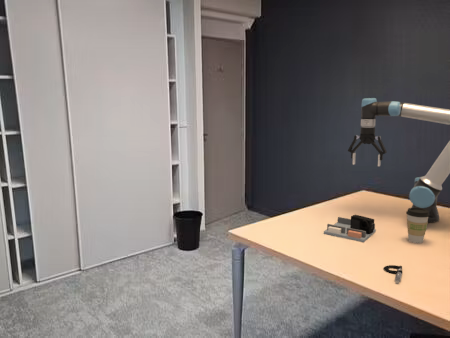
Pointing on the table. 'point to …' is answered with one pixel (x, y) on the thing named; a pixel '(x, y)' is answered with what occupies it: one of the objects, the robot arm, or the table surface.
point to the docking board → (347, 230)
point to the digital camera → (362, 223)
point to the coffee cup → (417, 224)
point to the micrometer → (394, 272)
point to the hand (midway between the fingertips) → (366, 165)
